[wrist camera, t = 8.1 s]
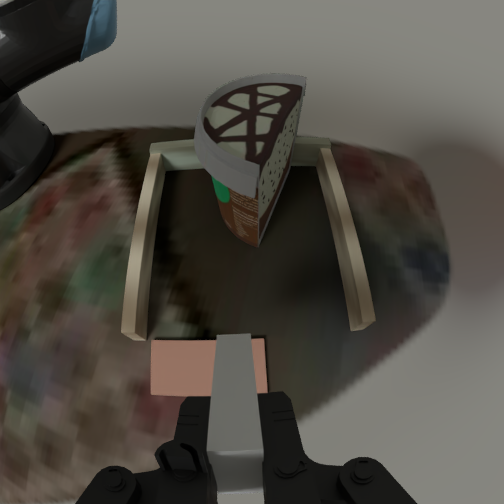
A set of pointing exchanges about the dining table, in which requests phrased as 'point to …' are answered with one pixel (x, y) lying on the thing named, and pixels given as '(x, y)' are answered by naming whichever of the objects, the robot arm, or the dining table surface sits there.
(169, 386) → the mat
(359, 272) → the beige u-shaped frame
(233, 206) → the food container
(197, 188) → the dining table surface
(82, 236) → the dining table surface
